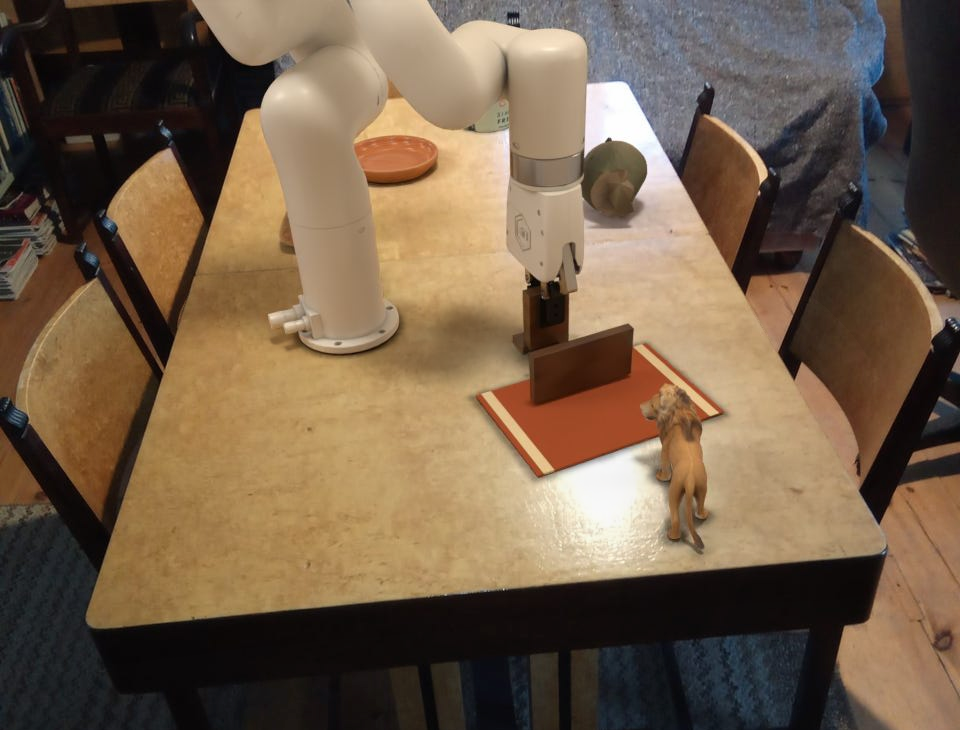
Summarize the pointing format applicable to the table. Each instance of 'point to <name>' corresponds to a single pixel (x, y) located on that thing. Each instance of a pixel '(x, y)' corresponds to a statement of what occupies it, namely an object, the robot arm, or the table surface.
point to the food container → (493, 118)
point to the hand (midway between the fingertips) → (545, 318)
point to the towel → (588, 414)
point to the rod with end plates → (569, 353)
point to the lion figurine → (680, 454)
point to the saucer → (395, 157)
